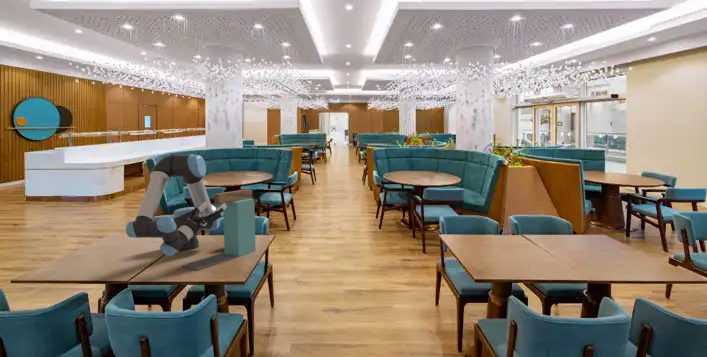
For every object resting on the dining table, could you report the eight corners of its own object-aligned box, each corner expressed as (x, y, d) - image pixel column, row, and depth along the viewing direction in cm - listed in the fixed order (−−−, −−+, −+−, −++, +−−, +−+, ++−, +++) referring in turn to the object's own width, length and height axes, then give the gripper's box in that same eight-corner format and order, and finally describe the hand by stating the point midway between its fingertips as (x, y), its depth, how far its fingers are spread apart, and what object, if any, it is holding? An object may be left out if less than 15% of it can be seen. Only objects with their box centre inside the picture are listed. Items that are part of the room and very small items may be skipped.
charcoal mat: (181, 266, 223) (181, 265, 223) (221, 254, 245) (221, 253, 245) (197, 270, 217) (197, 269, 217) (236, 257, 239) (236, 256, 239)
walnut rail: (214, 203, 234) (214, 194, 234) (247, 197, 255) (246, 189, 254) (219, 204, 232) (219, 194, 232) (252, 198, 253) (252, 189, 252)
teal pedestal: (224, 253, 247) (222, 200, 244) (241, 248, 258) (240, 197, 255) (238, 256, 241) (237, 202, 238) (255, 251, 252) (254, 199, 249)
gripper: (175, 232, 226) (203, 207, 240) (208, 239, 213) (236, 211, 228) (168, 221, 222) (197, 196, 237) (201, 227, 209) (230, 200, 224)
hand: (216, 203), depth 232 cm, fingers open, 13 cm apart
